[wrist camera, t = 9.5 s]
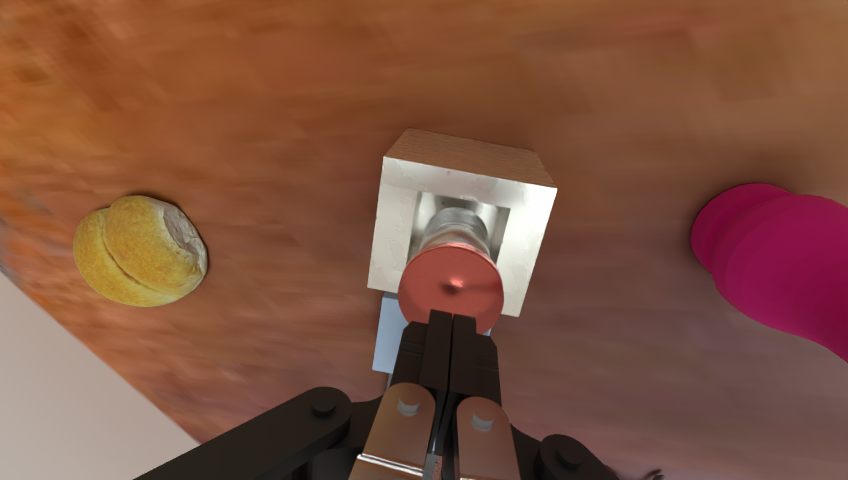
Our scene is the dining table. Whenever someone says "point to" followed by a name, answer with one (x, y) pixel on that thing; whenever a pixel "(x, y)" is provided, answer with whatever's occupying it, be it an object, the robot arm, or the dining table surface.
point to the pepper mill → (779, 259)
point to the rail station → (465, 188)
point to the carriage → (390, 334)
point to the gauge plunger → (453, 272)
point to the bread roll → (140, 252)
